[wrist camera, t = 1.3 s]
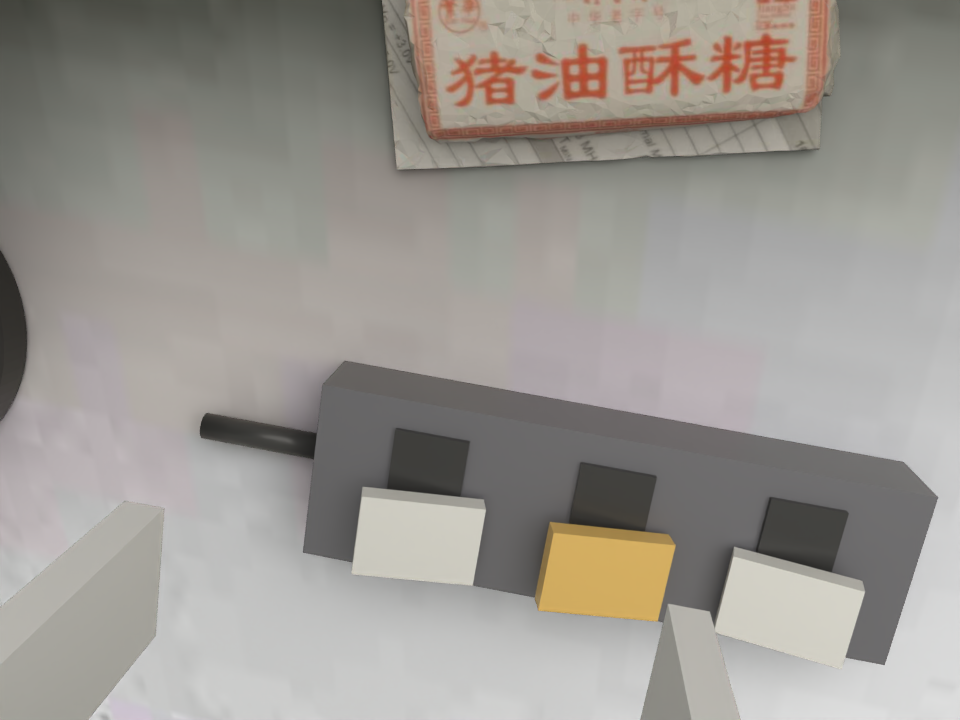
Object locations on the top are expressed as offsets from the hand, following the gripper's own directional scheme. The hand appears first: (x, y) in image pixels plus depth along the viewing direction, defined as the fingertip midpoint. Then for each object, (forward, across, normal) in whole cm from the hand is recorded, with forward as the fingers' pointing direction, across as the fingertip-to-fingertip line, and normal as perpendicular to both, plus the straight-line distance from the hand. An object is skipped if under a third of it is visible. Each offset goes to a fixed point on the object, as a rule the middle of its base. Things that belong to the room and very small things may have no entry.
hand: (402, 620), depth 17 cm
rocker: (+21, +14, -9) cm, 27 cm away
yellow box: (+21, +6, -9) cm, 23 cm away
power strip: (+25, +3, -7) cm, 27 cm away
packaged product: (+26, +2, +13) cm, 29 cm away
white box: (+21, -2, -9) cm, 23 cm away
